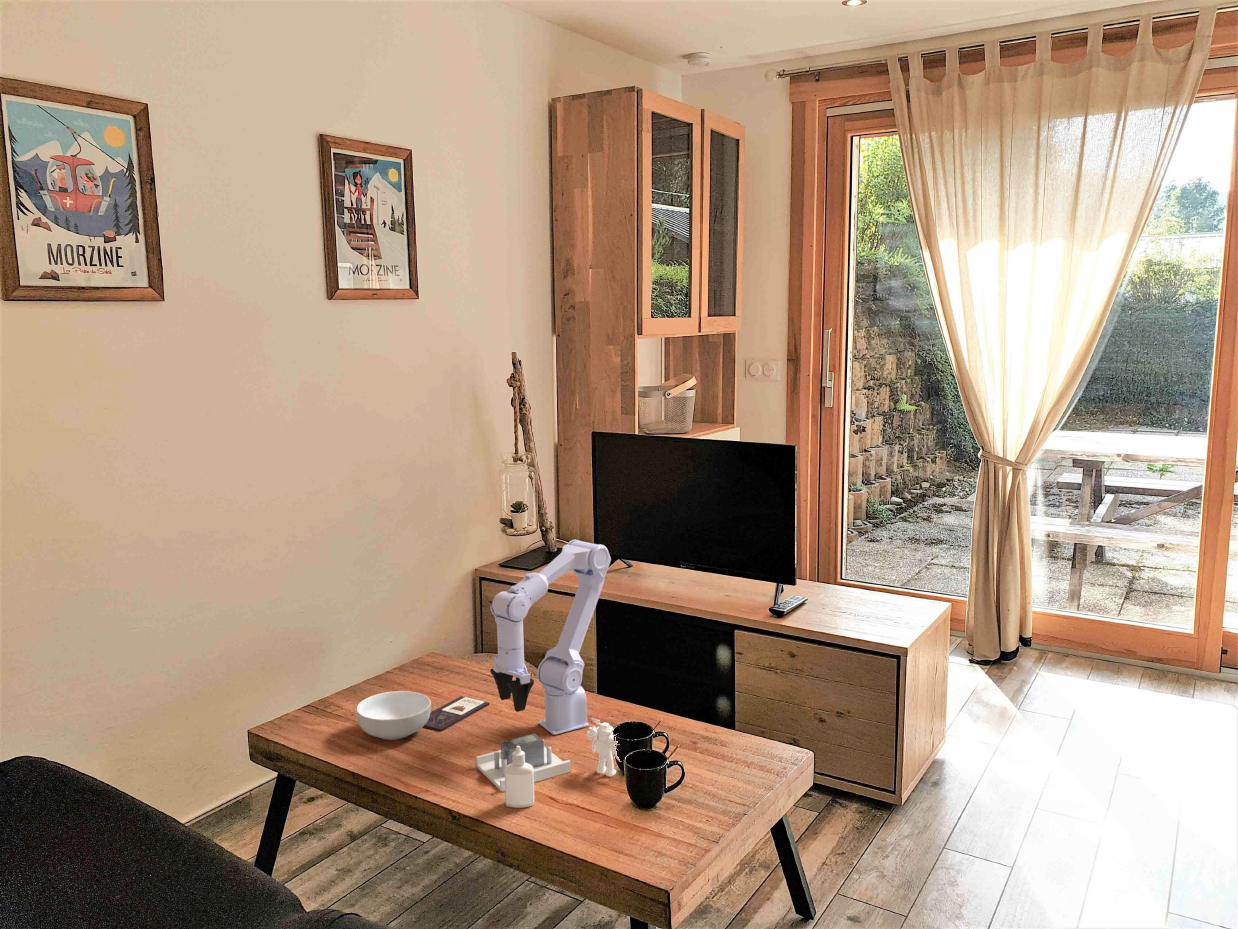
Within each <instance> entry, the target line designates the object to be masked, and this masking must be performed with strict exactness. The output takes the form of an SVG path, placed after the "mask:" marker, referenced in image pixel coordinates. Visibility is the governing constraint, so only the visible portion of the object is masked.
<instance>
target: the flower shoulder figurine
mask: <svg viewBox="0 0 1238 929" xmlns="http://www.w3.org/2000/svg"><path fill="white" fill-rule="evenodd" d="M590 719H591V720H592V723H595V726H592V727H588V729H589V730H586V736H587V739H588V740H589V741H591V752H592V753H597V754H598V765H597V770H596V773H597V774H599V775H600V774H605V776H606V777H613V776H615V775H616V774H617V770H616V769H614V768H615V767H614V758H613V754H614V756H615V758H616V759H617V760H618V762H620V763H621V761H620V759H619V757H618V756H617V751H616V749H617V746H618V745H619V744H617V743H618V741H616V737H615V741H614V736H616V735H617V734H618V733H616V734H614V732H613V730H614V727H613V726H612V725H610V724H609V723H608V722H602V723H601V720H600V719H597V718H594V717H590ZM597 725H598V726H597ZM596 726H597V727H596ZM615 745H616V746H615Z"/></svg>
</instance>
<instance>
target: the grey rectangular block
mask: <svg viewBox="0 0 1238 929" xmlns="http://www.w3.org/2000/svg"><path fill="white" fill-rule="evenodd" d="M544 741H545V739H544V740H543V738H541V737H540V736H539V735H537V734H536V732H534V733H531V734H527V735H523V736H519V737H516V738H511V739H508V740H504V741H501V742H500V750H501V764H502V759H507V765H509V764H511V763H513V760H512V753H513V752H515V751H516V747H517V746H520V748H521V751H523V752H524V753H525V763H528V764H530V765H532V766H533V768H535V767H538V766H542V765H544Z"/></svg>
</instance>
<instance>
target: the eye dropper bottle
mask: <svg viewBox="0 0 1238 929" xmlns="http://www.w3.org/2000/svg"><path fill="white" fill-rule="evenodd" d="M512 760H513V763H511V764H509V765H507V766H506V768H505V791H504V796H505V798H504V799H505V801H504V802H505V805H506V807H508V808H515V809H517V808H518V809H520V808H521V809H522V808H529V807H532V806H534V805H535V782H534V771H533V766H532V765H530V764H528V763H525V753H524V752H523V751H521V748H520V746H517V747H516V751H515V752H513V753H512Z"/></svg>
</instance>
